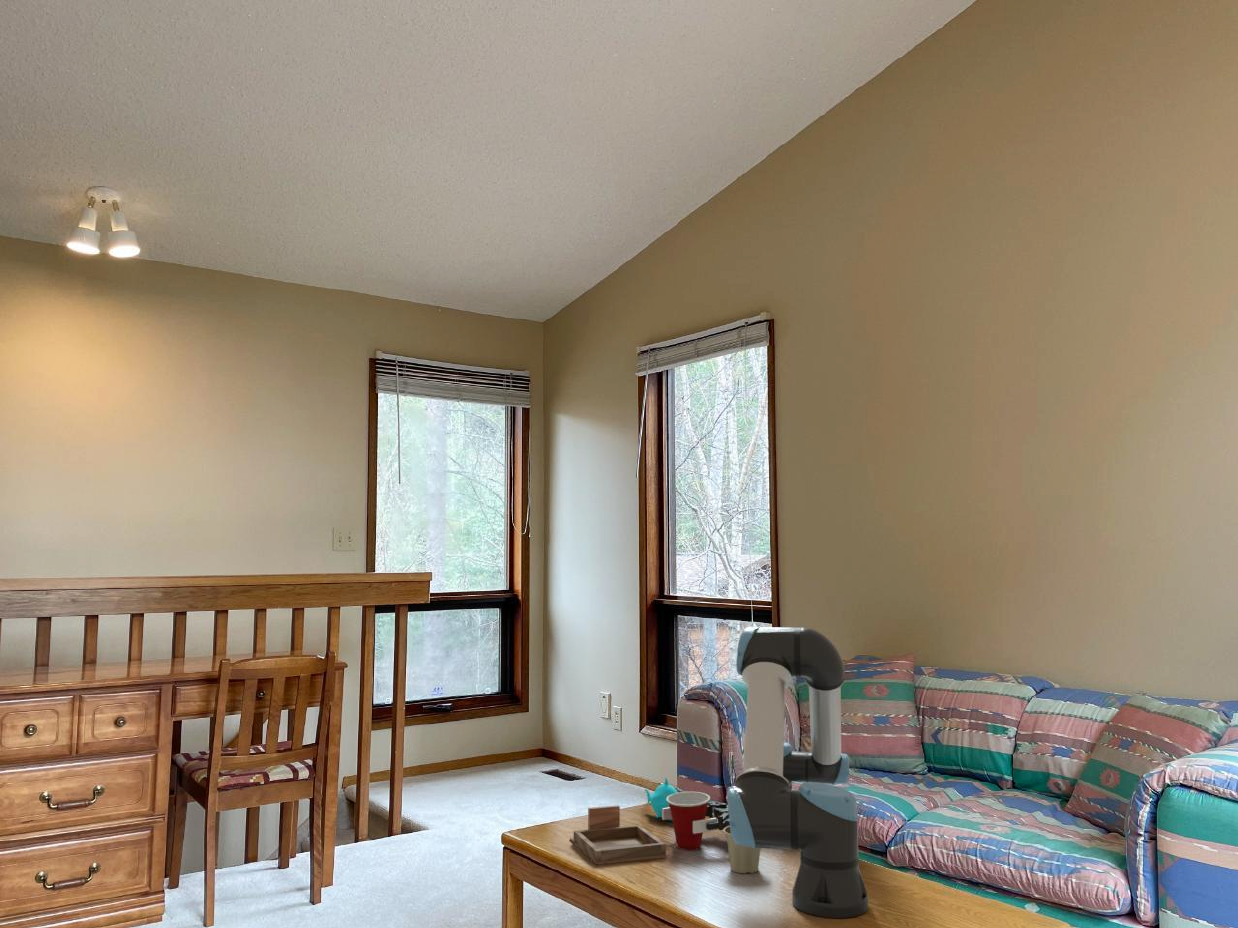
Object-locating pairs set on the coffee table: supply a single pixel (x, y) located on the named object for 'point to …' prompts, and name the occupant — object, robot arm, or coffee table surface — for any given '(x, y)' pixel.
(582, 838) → the cup dock
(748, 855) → the flower pot
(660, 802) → the toy shark
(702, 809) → the plastic cup
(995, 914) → the coffee table surface
